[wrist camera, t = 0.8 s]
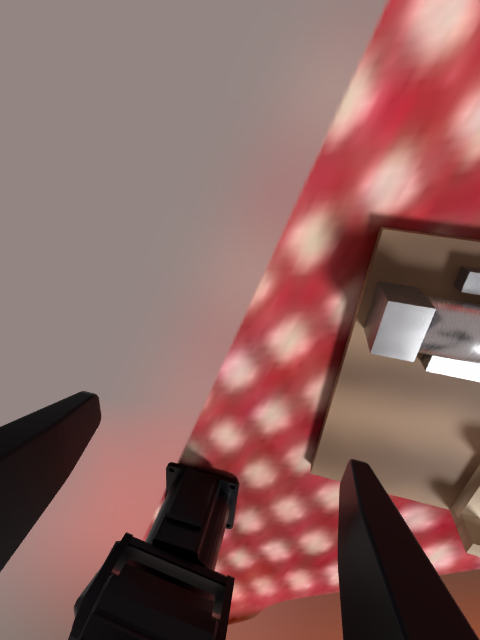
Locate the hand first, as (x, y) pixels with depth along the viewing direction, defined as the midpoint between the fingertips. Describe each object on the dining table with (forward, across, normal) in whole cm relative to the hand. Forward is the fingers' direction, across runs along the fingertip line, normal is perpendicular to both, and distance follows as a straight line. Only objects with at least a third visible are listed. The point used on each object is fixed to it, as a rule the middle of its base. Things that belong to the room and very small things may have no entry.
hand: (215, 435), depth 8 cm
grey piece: (+11, -9, 0) cm, 15 cm away
